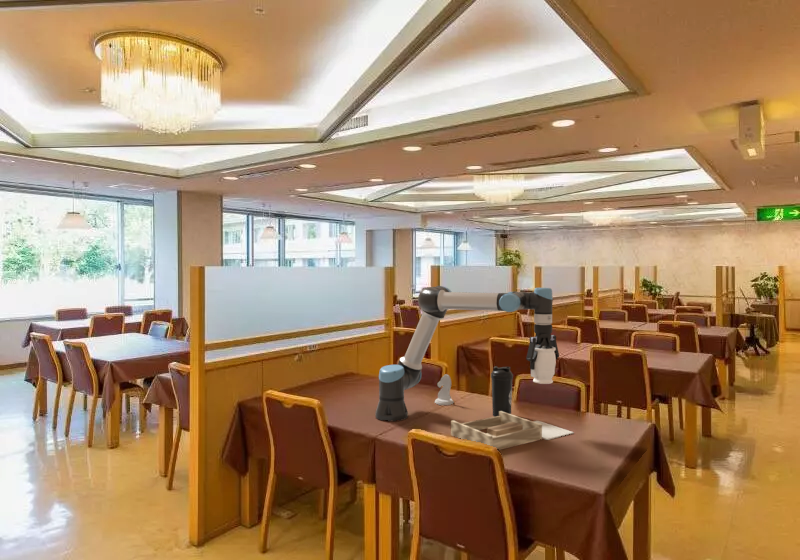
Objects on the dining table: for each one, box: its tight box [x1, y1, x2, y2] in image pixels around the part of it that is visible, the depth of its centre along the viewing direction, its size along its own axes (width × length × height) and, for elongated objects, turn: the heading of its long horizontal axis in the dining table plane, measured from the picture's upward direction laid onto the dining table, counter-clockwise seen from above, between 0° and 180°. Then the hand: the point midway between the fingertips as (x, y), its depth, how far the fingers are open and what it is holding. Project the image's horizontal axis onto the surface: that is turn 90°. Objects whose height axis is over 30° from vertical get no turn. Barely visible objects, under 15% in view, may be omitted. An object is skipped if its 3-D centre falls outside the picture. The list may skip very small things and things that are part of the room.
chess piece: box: [434, 373, 454, 406], centre depth 271 cm, size 10×10×15 cm
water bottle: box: [490, 365, 514, 417], centre depth 248 cm, size 10×10×23 cm
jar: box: [532, 346, 557, 385], centre depth 225 cm, size 11×10×15 cm
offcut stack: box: [485, 422, 523, 437], centre depth 212 cm, size 6×18×6 cm, turn 125°
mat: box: [533, 420, 575, 441], centre depth 225 cm, size 20×16×1 cm
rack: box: [450, 411, 543, 451], centre depth 216 cm, size 24×28×6 cm
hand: (542, 375), depth 225 cm, fingers closed on jar, 10 cm apart
